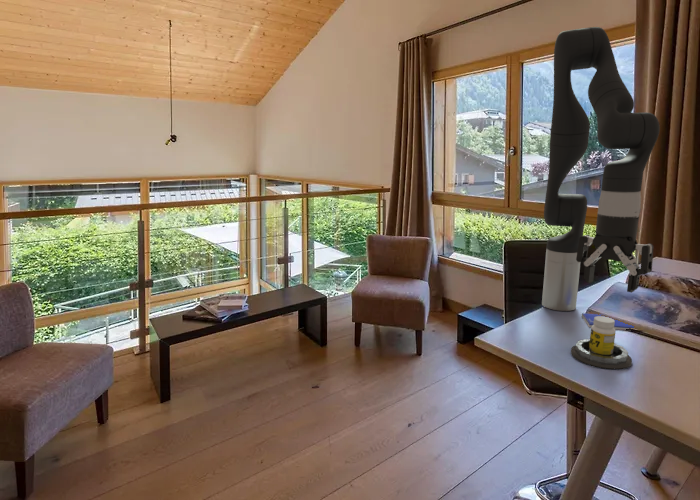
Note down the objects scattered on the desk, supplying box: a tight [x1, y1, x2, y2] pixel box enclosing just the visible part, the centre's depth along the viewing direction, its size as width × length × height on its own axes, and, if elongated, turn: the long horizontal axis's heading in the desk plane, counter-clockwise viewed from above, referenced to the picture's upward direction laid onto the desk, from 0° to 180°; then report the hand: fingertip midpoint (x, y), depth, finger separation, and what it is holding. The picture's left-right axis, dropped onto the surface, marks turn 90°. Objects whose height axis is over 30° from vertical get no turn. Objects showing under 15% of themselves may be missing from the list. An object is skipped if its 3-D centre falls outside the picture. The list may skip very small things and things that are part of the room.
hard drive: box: [581, 312, 634, 331], centre depth 120 cm, size 2×8×12 cm
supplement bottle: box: [589, 316, 616, 357], centre depth 100 cm, size 5×5×8 cm
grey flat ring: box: [570, 338, 633, 371], centre depth 101 cm, size 12×12×2 cm
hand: (609, 286), depth 97 cm, fingers open, 8 cm apart
